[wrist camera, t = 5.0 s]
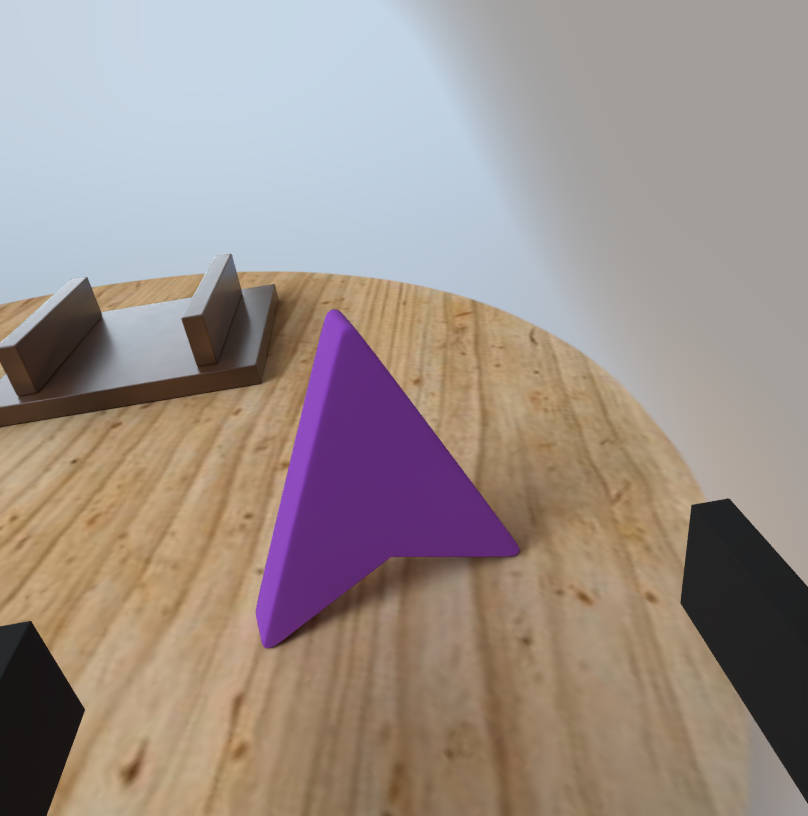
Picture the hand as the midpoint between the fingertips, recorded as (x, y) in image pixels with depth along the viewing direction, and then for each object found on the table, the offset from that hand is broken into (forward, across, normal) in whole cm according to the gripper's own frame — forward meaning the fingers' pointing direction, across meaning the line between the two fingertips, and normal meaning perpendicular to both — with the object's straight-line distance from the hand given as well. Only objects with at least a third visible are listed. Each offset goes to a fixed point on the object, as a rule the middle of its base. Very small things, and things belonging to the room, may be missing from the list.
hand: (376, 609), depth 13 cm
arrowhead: (+7, 0, -6) cm, 9 cm away
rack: (+30, -14, -6) cm, 34 cm away
